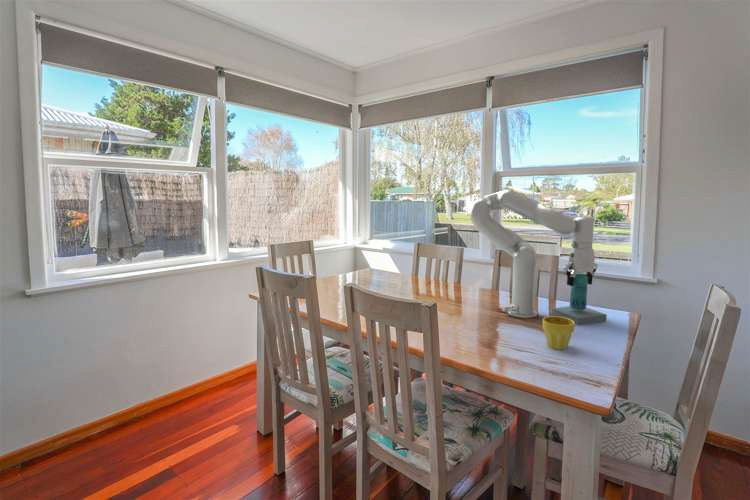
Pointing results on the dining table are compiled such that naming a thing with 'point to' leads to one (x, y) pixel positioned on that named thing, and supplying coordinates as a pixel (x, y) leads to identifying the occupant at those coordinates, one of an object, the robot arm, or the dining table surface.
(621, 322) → the dining table surface
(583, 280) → the beverage bottle
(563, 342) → the plant pot
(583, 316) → the stand
